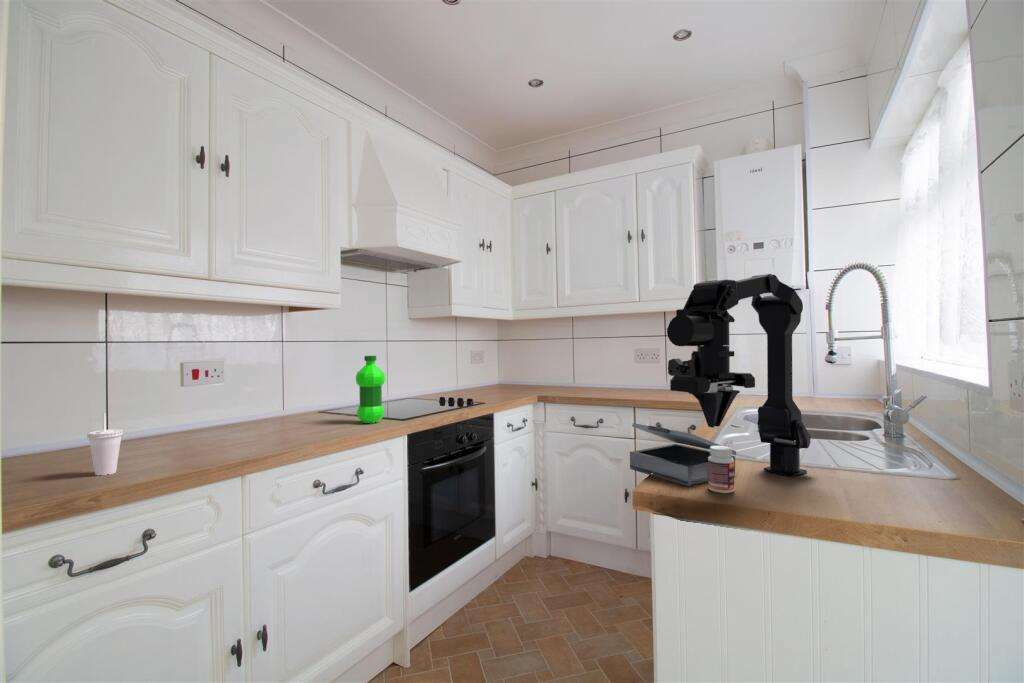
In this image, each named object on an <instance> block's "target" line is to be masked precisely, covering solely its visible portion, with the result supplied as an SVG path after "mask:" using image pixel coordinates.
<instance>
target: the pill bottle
mask: <svg viewBox="0 0 1024 683" xmlns="http://www.w3.org/2000/svg"><path fill="white" fill-rule="evenodd" d="M732 450H733V448H732V447H730V446H726V445H725V446H724V445H721V446H711V447H710V450H709V451H710V454H711V456H709V457H708V481H707V484H708V486H707V487H708V489H709V490H710V491H712V492H715V493H721V494H731V493H733V492H735V475H734V459H733V458H732V457H731V456H733V454H732Z"/></svg>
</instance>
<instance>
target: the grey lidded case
mask: <svg viewBox="0 0 1024 683" xmlns="http://www.w3.org/2000/svg"><path fill="white" fill-rule="evenodd" d="M709 456H711V454H710V450H709V449H704V448H699V447H695V446H690V445H685V444H681V443H672V444H671V443H670V444H666V445H660V446H655V447H654V446H653V447H649V448H644V449H638V450H633V451H629V469H630V470H632V471H636V472H639V473H642V474H645V475H649V476H652V477H655V478H659V479H662V480H666V481H669V482H672V483H676V484H679V485H683V486H686V487H691V486H695V485H698V484H703V483H706V482H707V483H708V457H709ZM731 457H732V458H733V459H734V476H735V475H736V455H732V456H731ZM651 473H653V474H652V475H651Z"/></svg>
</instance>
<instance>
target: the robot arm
mask: <svg viewBox="0 0 1024 683" xmlns="http://www.w3.org/2000/svg"><path fill="white" fill-rule="evenodd" d="M692 288H693V289H692V290H691V292H690V294H689V296H688V298H687V300H686V302H685V304H684V306H683V308H682V309H681V308H680V309H676V311H675V312H676V313H675V314H676V316H674V317H673V318H672V319H671V320H670V321H669V323H668V326H667V328H666V333H667V334H666V335H667V338H668V340H669V341H670V343H671V344H673V345H674V346H676V347H697V348H696V350H694V351H692V352H691V358H690V359H688V360H682V359H680V358H672V359H669V360H668V362H667V373H668V376H671V377H672V378H671V379H670V380H669V390H670V391H671V392H682V393H688V394H690V395H692V396H693V397H694V398H696V400H697V401H698V402H699V405H700V408H701V409H702V410H701V411H702V412H703V413H702V414H703V416H704V419H705V421H706V424H707V427H708V428H712V429H713V428H715V427H717V428H719V427H720V426H721V424H722V422H723V421H724V419H725V416H726V415H727V413H728V410H730V407H731V405H732V403H733V401H734V400H735V398H736V397H737V395H738V394H740V393H741V390H738V389H737V390H736V389H734V387H743V388H745V389H752V388H754V389H755V388H756V378H755V377H754V376H753V374H752V373H750V372H731V371H730V370H731V369H730V367H731V366H730V364H731V363H730V358H732V357H735V351H734V350H730V323H735V321H736V320H735V318H734V317H733V315H731V314H730V312H728V311H729V310H731V309H732V308H734V307H736V306H737V305H738V304H739V301H740V300H745V299H748V298H752V299H751V307H752V308H753V309H754V311H755V312H756V313H757V314H758V315H757V316H758V323H759V325H760V326H761V328H762V329H763V330H764V332H765V333H766V339H767V341H766V348H767V350H766V353H767V355H766V356H767V357H766V359H767V361H766V362H767V366H766V367H767V368H766V369H767V375H766V376H767V384H766V386H767V387H766V388H767V396H766V397H767V399H766V400H765V402H764V403H763V404H762V406H761V405H759V407H758V409H757V424H756V425H757V429H758V434H759V438H760V442H761V443H763V444H764V443H766V444H769V466H767V467H763V470H764V471H765V472H770V473H774V474H778V475H783V476H787V477H795V476H800V475H803V474H806V473H808V470H807V469H802V468H801V465H800V464H801V463H800V462H801V461H800V460H801V459H800V458H801V457H800V452H801V451H800V449H809V447H810V444H811V438H812V437H811V435H810V434H809V433H810V432H809V431H808V429H807V428H806V425H805V424H804V423H803V421H802V420H803V419H802V412H801V410H800V408H799V407H798V405H797V404H796V402H795V401H794V399H793V334H794V332H795V331H796V329H797V328H798V326H799V325H800V323H801V319H802V312H803V310H804V302H803V301H802V298H801V297H800V295H799V294H798V292H797V291H796V290H795V289H794V287H791V286H790V285H787V284H785V283H783V281H782V282H781V281H780V279H779V277H778V276H777V275H775V274H772V273H766V274H759V275H752V276H751V277H746V278H743V279H738V280H734V279H720V280H711V281H704V282H703V281H702V282H696V283H695V284H694V285H693V287H692ZM763 294H772V295H763ZM761 295H763V296H761Z"/></svg>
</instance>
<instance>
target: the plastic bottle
mask: <svg viewBox="0 0 1024 683" xmlns="http://www.w3.org/2000/svg"><path fill="white" fill-rule="evenodd" d="M363 358H364V361H365V365H364V366H363V367H362V368H361V369H360V370H358V371H357V372H356V375H355V383H356V384H357V386H358V387H359V406H358V408H357V411H356V415H357V417H358V420H360V421H361V422H364V423H374V424H376V423H375V422H378V423H379V422H380V421H381V420H382V419H383V418H384V416H385V408H384V407H383V405H382V402H383V401H382V399H383V398H382V396H383V395H382V394H383V393H382V387H383V385H384V384H385V383H386V382H385V381H386V374H385V373H384V371H382V370H381V369H380V367H378V366H377V364H376V361H377V355H364V357H363ZM364 423H363V424H364Z"/></svg>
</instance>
